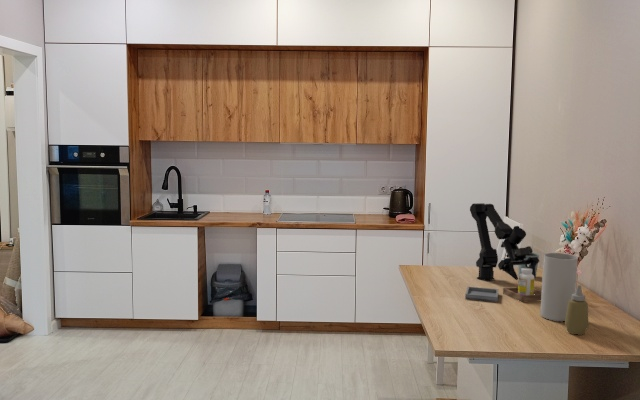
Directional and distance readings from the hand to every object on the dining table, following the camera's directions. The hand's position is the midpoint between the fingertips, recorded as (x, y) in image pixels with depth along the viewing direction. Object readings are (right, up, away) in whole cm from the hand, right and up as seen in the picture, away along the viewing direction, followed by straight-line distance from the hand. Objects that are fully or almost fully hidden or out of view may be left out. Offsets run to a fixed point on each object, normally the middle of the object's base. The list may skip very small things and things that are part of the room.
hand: (526, 278), depth 264 cm
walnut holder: (0, -8, +1) cm, 8 cm away
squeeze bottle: (+2, -14, -47) cm, 49 cm away
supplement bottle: (0, -8, +1) cm, 8 cm away
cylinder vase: (+2, -12, -28) cm, 31 cm away
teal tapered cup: (+14, -4, +38) cm, 41 cm away
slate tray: (-20, -8, 0) cm, 21 cm away
